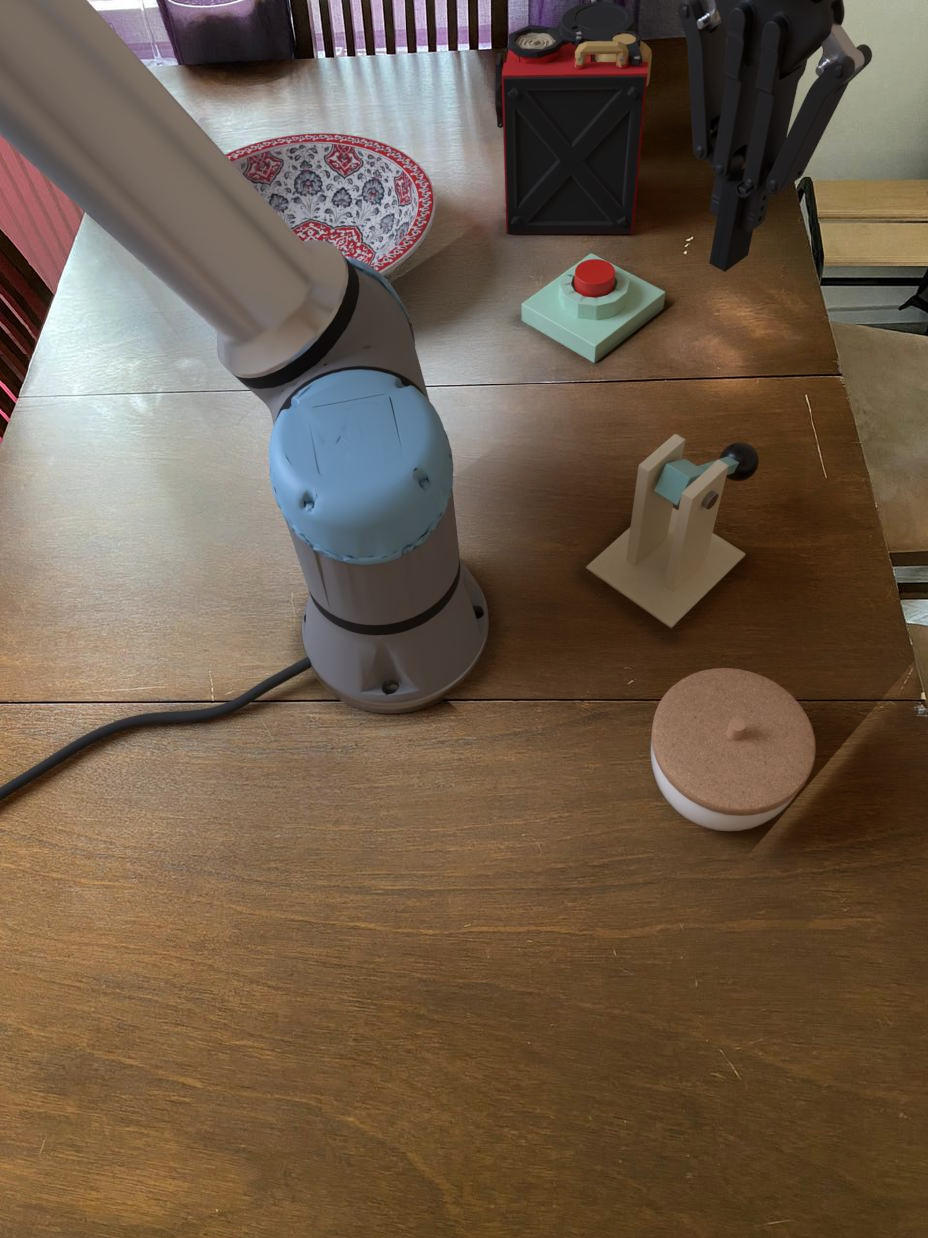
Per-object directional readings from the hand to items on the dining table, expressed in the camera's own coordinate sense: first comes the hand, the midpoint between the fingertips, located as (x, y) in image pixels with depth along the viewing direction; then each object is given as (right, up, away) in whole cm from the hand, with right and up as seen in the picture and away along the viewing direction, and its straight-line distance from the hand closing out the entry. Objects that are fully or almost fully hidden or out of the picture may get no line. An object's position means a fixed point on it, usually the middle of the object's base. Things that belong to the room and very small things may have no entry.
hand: (728, 258), depth 73 cm
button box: (-6, +5, +28) cm, 30 cm away
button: (-7, +7, +25) cm, 27 cm away
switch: (-1, -16, +5) cm, 17 cm away
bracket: (-3, -23, +10) cm, 25 cm away
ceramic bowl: (-37, +11, +35) cm, 52 cm away
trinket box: (-1, -39, -1) cm, 39 cm away
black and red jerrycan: (-8, +20, +39) cm, 44 cm away
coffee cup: (-4, +30, +45) cm, 55 cm away
